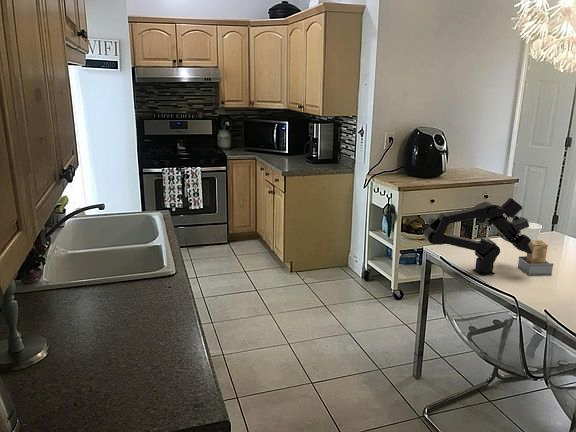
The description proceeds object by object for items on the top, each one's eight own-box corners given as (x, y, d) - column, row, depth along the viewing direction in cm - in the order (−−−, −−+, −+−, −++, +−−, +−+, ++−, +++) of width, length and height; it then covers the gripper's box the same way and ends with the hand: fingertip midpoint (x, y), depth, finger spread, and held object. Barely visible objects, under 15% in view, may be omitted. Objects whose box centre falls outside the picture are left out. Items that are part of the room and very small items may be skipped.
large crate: (528, 275, 203) (530, 264, 201) (517, 267, 212) (518, 256, 211) (551, 275, 203) (553, 264, 201) (539, 266, 212) (541, 255, 211)
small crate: (530, 271, 205) (534, 244, 202) (524, 266, 210) (528, 240, 207) (544, 271, 204) (547, 244, 201) (538, 266, 210) (541, 240, 207)
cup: (543, 249, 233) (546, 228, 230) (522, 249, 233) (525, 228, 230) (533, 243, 243) (536, 222, 240) (514, 243, 243) (516, 222, 240)
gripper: (529, 218, 191) (552, 244, 194) (507, 206, 209) (529, 230, 212) (507, 237, 193) (530, 262, 196) (487, 224, 211) (509, 247, 214)
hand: (525, 249), depth 205 cm, fingers open, 9 cm apart
